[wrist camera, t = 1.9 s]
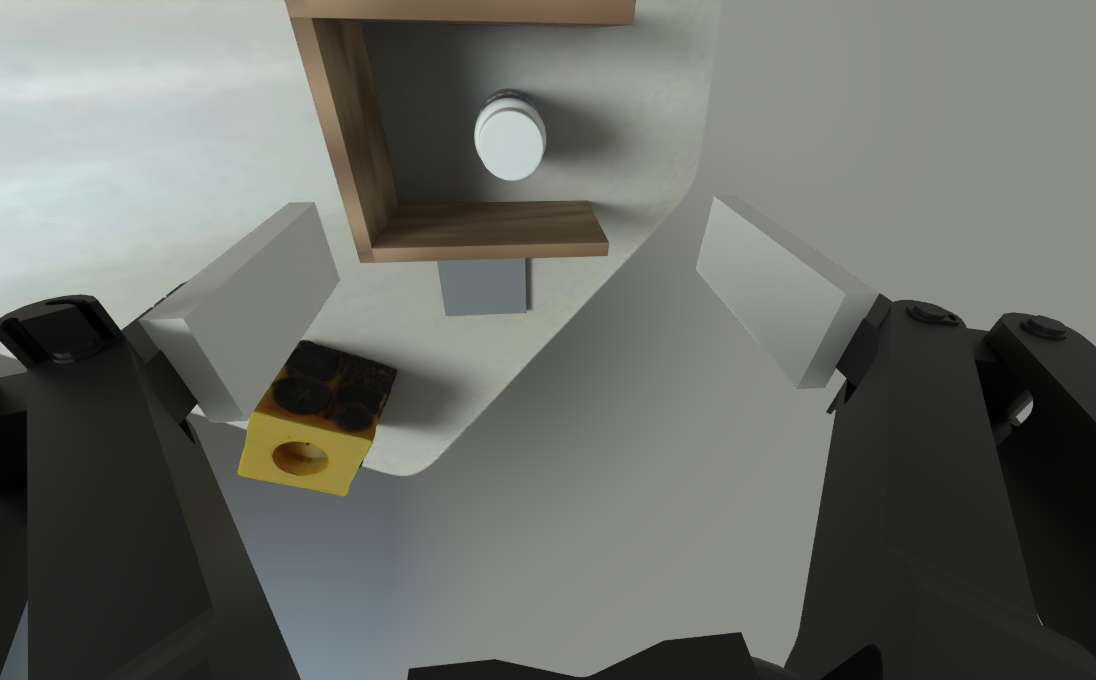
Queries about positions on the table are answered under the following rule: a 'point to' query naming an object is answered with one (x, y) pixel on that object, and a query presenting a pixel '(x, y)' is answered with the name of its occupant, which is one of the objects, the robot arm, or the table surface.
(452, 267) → the slate coaster
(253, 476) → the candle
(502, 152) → the pill bottle
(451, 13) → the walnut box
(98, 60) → the table surface
